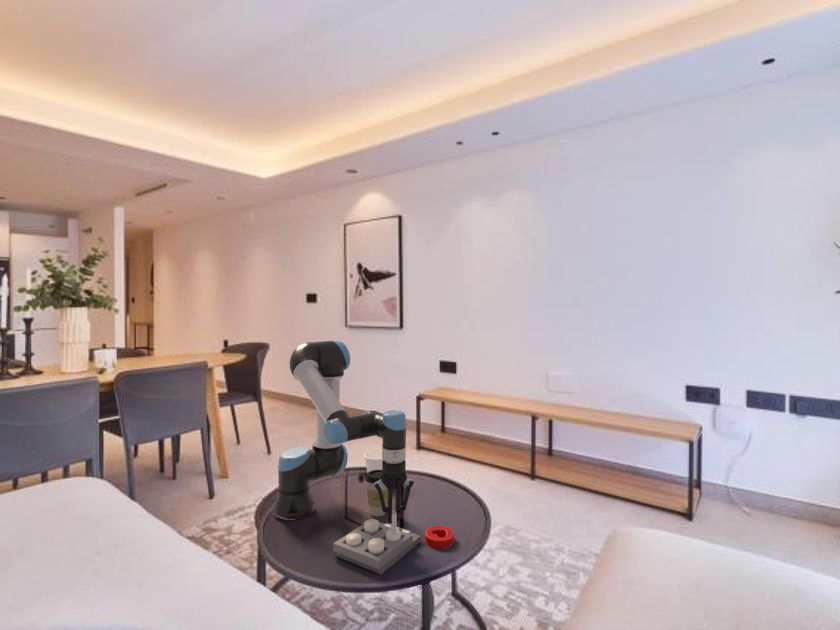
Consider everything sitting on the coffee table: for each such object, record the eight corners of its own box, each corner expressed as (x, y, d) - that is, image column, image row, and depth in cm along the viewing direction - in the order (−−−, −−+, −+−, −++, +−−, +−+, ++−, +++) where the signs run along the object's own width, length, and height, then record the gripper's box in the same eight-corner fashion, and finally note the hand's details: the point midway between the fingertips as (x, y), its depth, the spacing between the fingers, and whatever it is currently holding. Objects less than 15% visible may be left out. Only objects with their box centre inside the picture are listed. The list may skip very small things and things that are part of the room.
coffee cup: (386, 519, 169) (387, 479, 169) (361, 517, 171) (361, 477, 170) (393, 508, 179) (393, 470, 178) (369, 505, 181) (369, 468, 180)
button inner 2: (361, 532, 152) (361, 523, 152) (370, 526, 156) (370, 517, 156) (372, 536, 150) (372, 527, 149) (381, 530, 154) (381, 521, 154)
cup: (380, 490, 196) (380, 461, 195) (358, 483, 202) (358, 456, 201) (395, 480, 206) (395, 453, 205) (374, 475, 212) (374, 448, 212)
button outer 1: (365, 553, 140) (365, 543, 140) (374, 546, 144) (374, 536, 144) (377, 557, 137) (377, 548, 137) (387, 550, 141) (387, 541, 141)
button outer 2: (382, 543, 147) (383, 533, 147) (391, 536, 151) (391, 527, 151) (395, 547, 145) (395, 538, 145) (403, 540, 149) (403, 531, 149)
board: (333, 557, 144) (333, 543, 144) (378, 527, 163) (378, 514, 163) (378, 576, 134) (379, 561, 134) (420, 541, 154) (420, 528, 154)
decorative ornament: (457, 537, 157) (457, 528, 157) (448, 552, 148) (448, 542, 148) (431, 532, 161) (431, 523, 161) (420, 545, 152) (420, 536, 152)
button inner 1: (342, 547, 145) (342, 538, 144) (352, 540, 149) (352, 531, 149) (354, 552, 142) (354, 542, 142) (364, 545, 146) (364, 535, 146)
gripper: (375, 465, 142) (374, 540, 143) (416, 462, 145) (415, 535, 146) (372, 457, 150) (372, 528, 150) (411, 454, 152) (411, 524, 153)
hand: (393, 532), depth 148 cm, fingers closed
